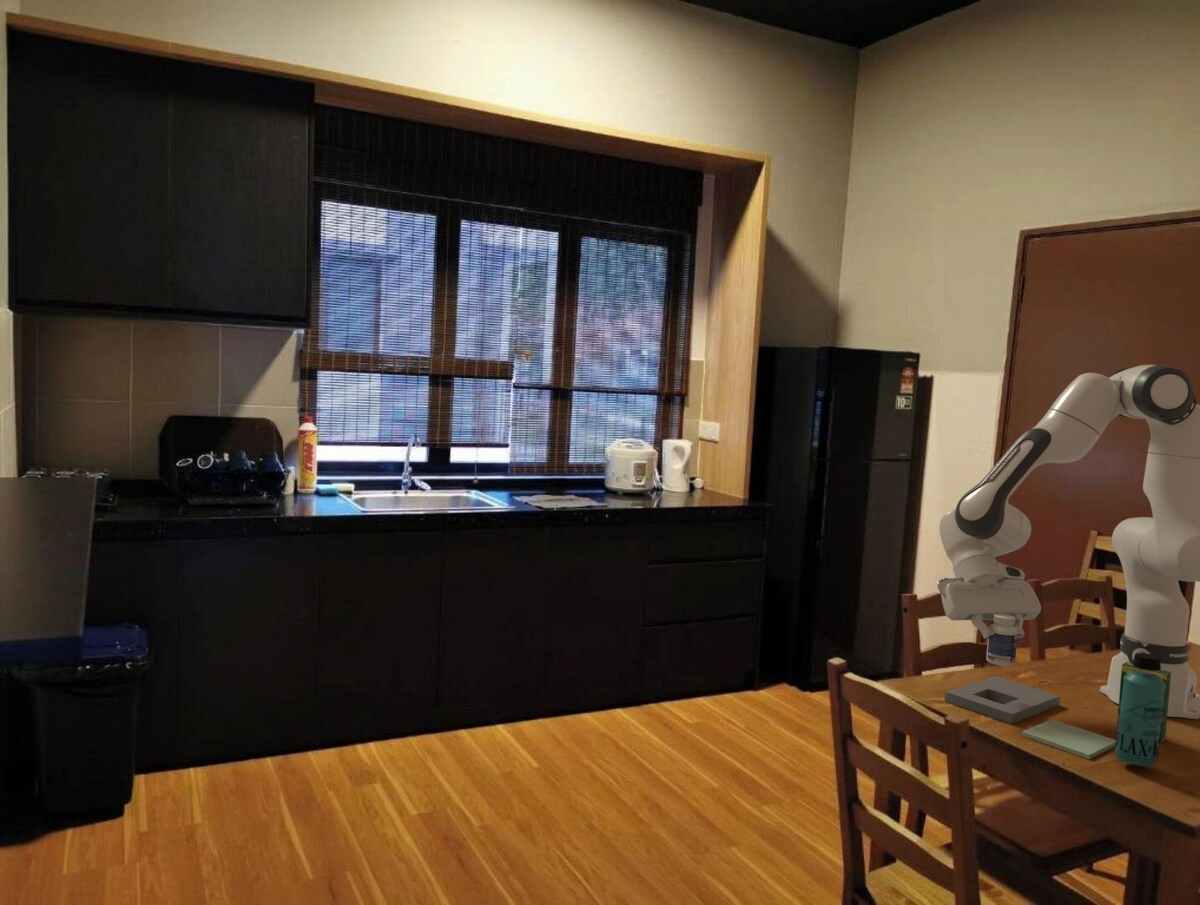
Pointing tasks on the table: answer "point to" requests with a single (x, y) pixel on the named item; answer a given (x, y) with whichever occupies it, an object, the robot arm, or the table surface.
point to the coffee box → (1166, 678)
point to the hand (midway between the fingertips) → (1004, 636)
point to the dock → (1002, 699)
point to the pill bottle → (1002, 641)
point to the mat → (1070, 738)
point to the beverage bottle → (1141, 713)
